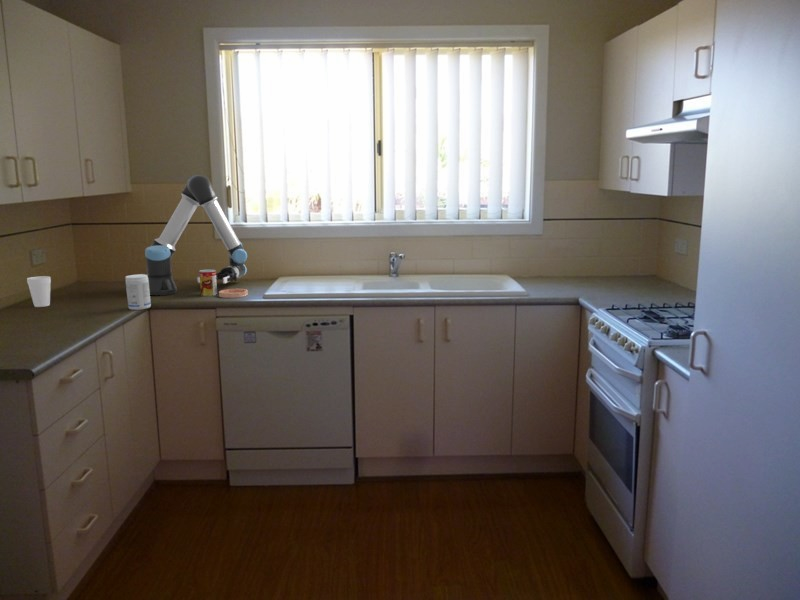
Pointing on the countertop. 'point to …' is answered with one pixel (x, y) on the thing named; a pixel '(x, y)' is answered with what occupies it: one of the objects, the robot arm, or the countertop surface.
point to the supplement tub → (138, 292)
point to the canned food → (208, 282)
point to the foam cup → (40, 290)
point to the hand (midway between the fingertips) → (210, 280)
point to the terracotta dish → (233, 293)
